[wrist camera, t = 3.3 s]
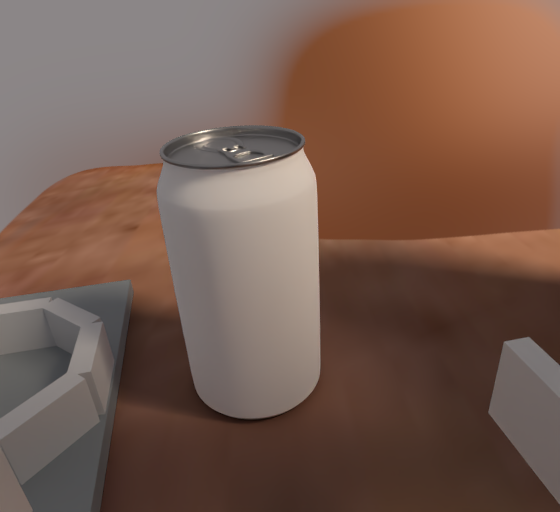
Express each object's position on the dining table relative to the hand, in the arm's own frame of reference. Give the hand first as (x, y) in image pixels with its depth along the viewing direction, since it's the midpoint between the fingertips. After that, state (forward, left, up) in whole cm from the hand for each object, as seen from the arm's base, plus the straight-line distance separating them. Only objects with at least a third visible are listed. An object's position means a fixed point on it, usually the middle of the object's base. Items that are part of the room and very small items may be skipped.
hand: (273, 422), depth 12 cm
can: (0, -9, -7) cm, 12 cm away
